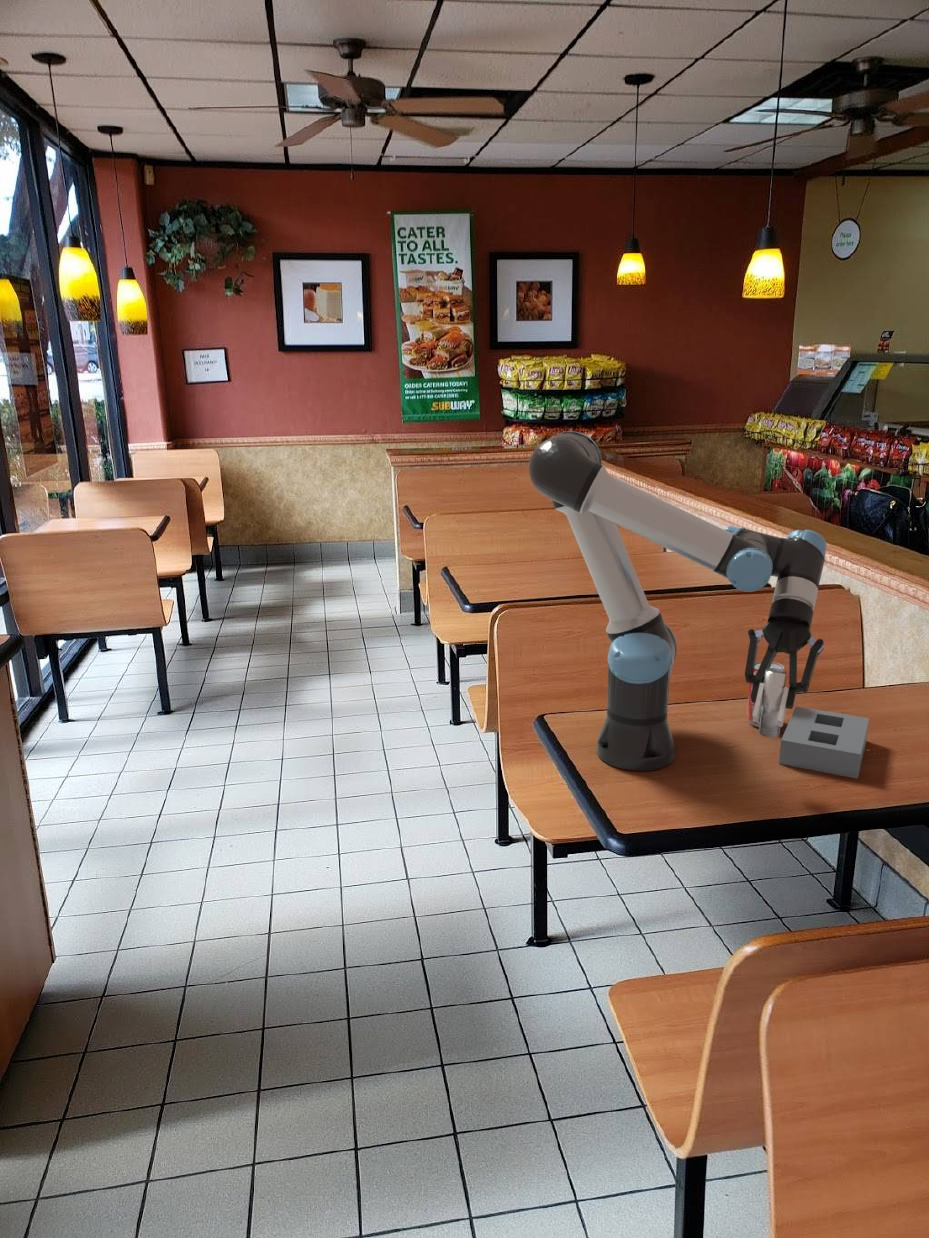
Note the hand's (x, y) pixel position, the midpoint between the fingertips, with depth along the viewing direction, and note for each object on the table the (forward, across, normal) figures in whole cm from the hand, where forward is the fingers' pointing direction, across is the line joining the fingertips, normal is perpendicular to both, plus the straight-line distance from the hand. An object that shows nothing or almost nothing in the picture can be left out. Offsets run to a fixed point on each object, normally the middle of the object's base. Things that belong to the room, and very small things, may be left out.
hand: (767, 721), depth 154 cm
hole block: (-6, -8, -25) cm, 27 cm away
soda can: (-12, +5, -32) cm, 34 cm away
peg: (0, 0, -6) cm, 6 cm away
